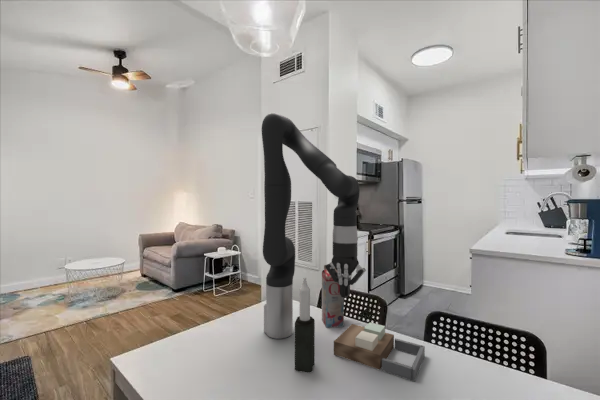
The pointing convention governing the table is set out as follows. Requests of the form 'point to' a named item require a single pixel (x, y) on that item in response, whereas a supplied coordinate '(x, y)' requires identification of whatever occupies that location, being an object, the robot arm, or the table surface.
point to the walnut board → (349, 350)
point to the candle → (304, 333)
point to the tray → (400, 368)
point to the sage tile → (375, 329)
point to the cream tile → (366, 340)
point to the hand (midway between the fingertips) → (344, 296)
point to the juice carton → (331, 302)
